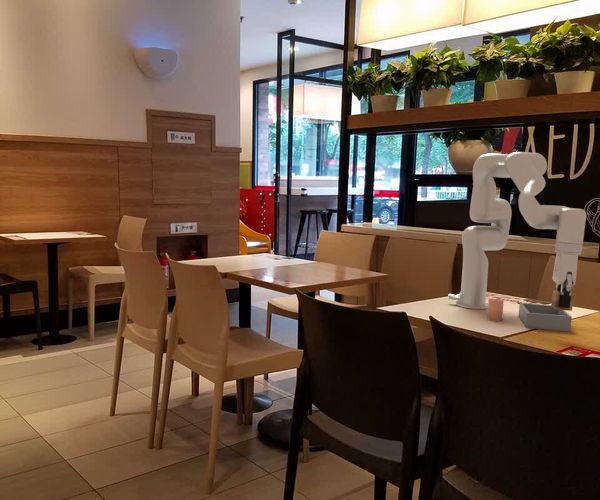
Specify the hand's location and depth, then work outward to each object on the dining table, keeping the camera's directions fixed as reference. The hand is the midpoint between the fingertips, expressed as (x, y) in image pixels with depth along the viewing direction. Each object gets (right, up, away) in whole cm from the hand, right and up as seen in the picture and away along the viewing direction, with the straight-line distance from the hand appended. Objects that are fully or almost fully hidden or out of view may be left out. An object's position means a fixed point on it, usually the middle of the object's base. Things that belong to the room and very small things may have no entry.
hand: (561, 304), depth 176 cm
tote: (+2, -8, +18) cm, 20 cm away
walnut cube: (0, -1, 0) cm, 1 cm away
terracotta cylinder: (-14, -7, +22) cm, 27 cm away
